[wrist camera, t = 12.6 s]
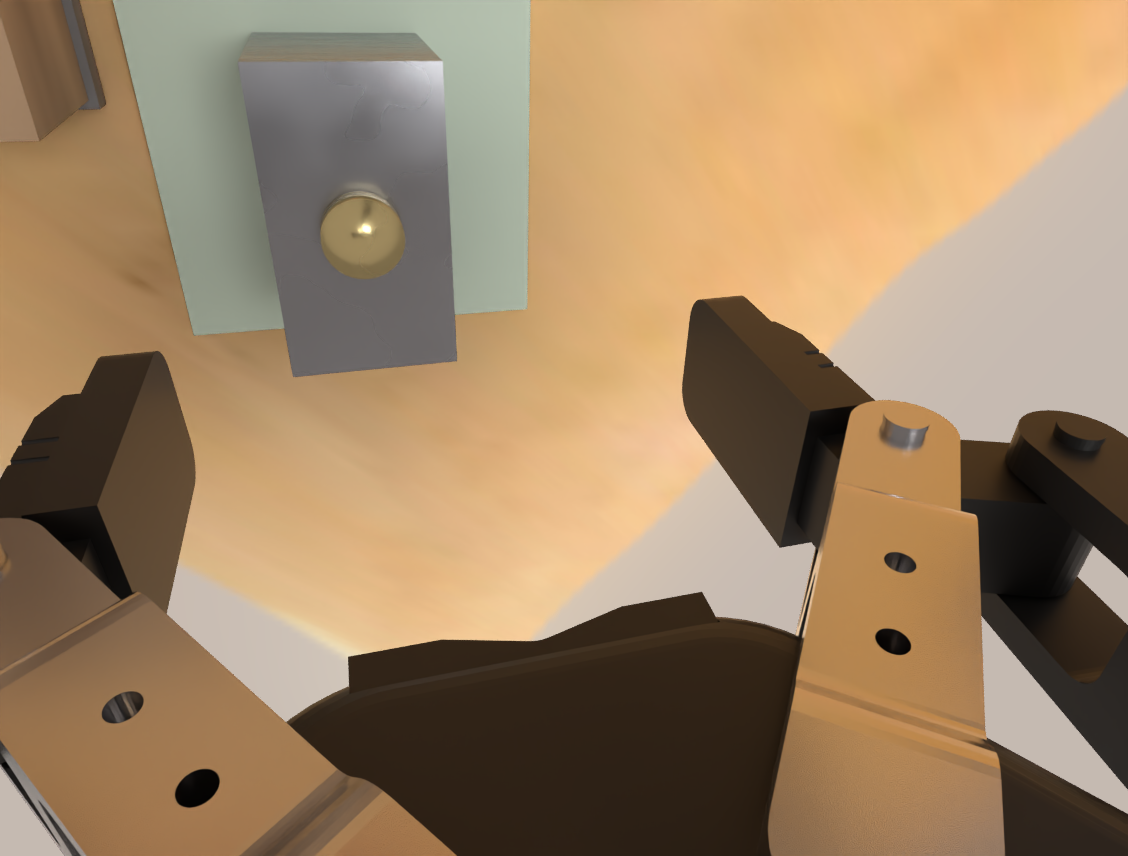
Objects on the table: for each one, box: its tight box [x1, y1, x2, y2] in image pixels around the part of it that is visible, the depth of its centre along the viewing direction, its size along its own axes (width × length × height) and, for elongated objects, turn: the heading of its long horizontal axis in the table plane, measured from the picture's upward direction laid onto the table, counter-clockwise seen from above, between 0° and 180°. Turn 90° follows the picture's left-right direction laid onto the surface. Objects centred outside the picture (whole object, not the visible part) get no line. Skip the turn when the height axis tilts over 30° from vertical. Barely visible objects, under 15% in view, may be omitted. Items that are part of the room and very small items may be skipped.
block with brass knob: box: [238, 32, 457, 377], centre depth 19 cm, size 4×7×6 cm, turn 178°
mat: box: [113, 0, 530, 336], centre depth 22 cm, size 10×9×1 cm
